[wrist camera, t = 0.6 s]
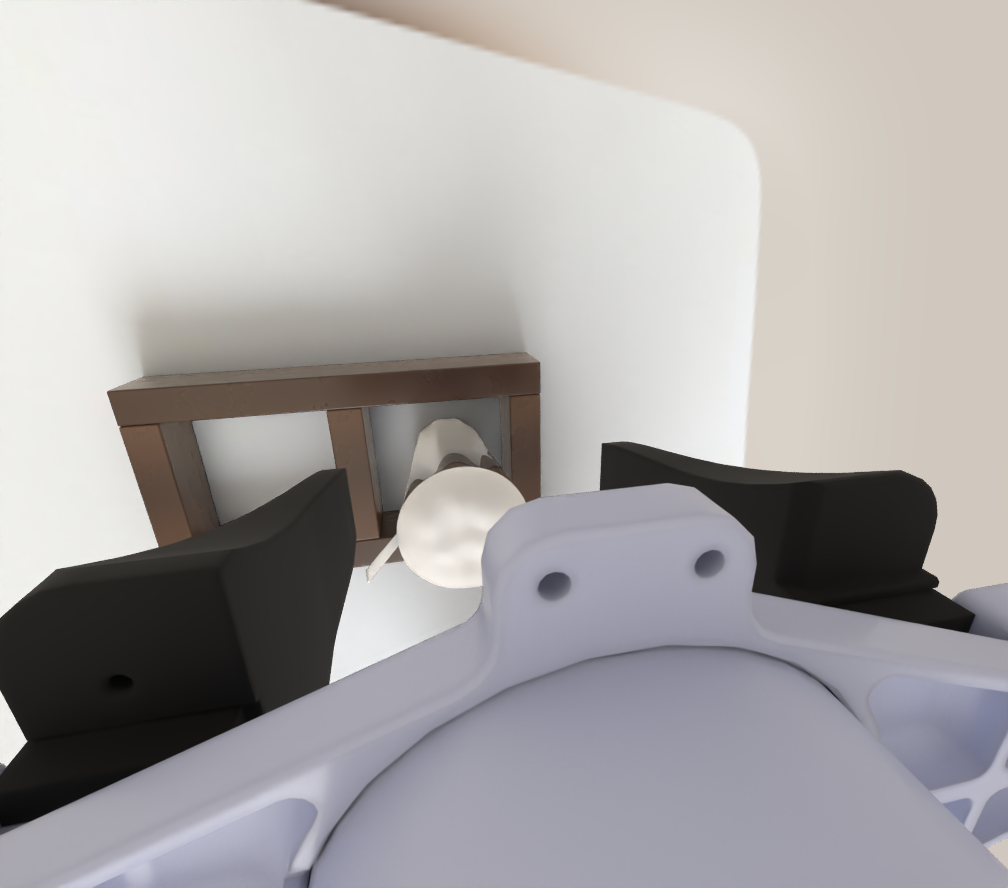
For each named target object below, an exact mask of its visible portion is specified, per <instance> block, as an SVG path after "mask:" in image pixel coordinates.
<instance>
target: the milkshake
mask: <svg viewBox="0 0 1008 888" xmlns="http://www.w3.org/2000/svg"><path fill="white" fill-rule="evenodd" d="M524 503H526V502H525V500H524V498H523V496H522V495H521V493H520V492H519V490H518V489H517V488H516V486H515V485H514V484H513V483H512V481H511V480H510V479H509V478H508V476H507V475H506V474H505V472H504V471H503V470H502V469H501V467H500V466H499V465H498V463H497V462H496V460H495V459H494V457H493V456H492V454H491V453H490V451H489V450H488V448H487V447H486V445H485V444H484V442H483V441H482V439H481V438H480V436H479V435H478V434H477V432H476V431H475V429H474V428H472V427H470V426H469V425H467V424H465V423H464V422H462V421H460V420H459V419H457V418H453V419H438V420H435V421H433V422H432V423H431V424H430V425H428V426H427V427H426V428H425V429H423V430H422V431H421V432H420V433H419V436H418V440H417V444H416V447H415V451H414V456H413V461H412V467H411V472H410V478H409V481H408V484H407V488H406V491H405V495H404V499H403V502H402V506H401V510H400V513H399V517H398V521H397V533H396V535H395V536H394V537H393V538H392V539H391V541H390V542H389V543H388V544H387V545H386V547H385V548H384V549H383V550H382V552H381V553H380V554H379V555H378V556H377V558H376V559H375V560H374V561H373V562H372V564H371V565H370V566H369V567H368V569H367V570H366V576H367V582H368V583H369V582H370V581H371V580H372V579H373V577H374V576H375V575H376V574H377V572H378V571H379V570H380V569H381V567H382V566H383V565H384V563H385V562H386V561H387V560H388V558H389V557H390V556H391V555H392V553H393V552H394V551H395V550H396V548H397V547H398V546H399V549H400V552H401V555H402V557H403V559H404V561H405V562H406V564H407V565H408V567H409V568H410V569H411V570H412V571H413V572H414V573H415V574H417V575H418V576H419V577H421V578H423V579H424V580H426V581H428V582H430V583H432V584H435V585H438V586H441V587H445V588H471V587H479V586H482V570H481V557H482V553H483V549H484V545H485V541H486V537H487V533H488V531H489V530H490V529H491V528H492V527H493V526H494V524H495V523H496V522H497V521H498V520H499V519H500V518H501V517H502V516H503V515H504V514H505V513H506V512H507V511H508V510H509V509H510V508H513V507H515V506H518V505H521V504H524Z"/></svg>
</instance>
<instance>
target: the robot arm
mask: <svg viewBox="0 0 1008 888" xmlns="http://www.w3.org/2000/svg"><path fill="white" fill-rule="evenodd" d="M936 520H937V502H936V498H935V495H934V493H933V491H932V489H931V487H930V486H929V485H928V484H927V483H926V482H925V481H924V480H923V479H920V478H918V477H916V476H913V475H911V474H909V473H906V472H904V471H902V470H893V471H872V472H854V473H798V472H796V473H795V472H781V471H767V470H758V469H749V468H743V467H736V466H730V465H724V464H718V463H713V462H709V461H704V460H700V459H695V458H691V457H687V456H683V455H679V454H676V453H672V452H668V451H665V450H661V449H657V448H653V447H650V446H646V445H642V444H637V443H632V442H612V443H602V453H601V475H600V491H594V492H585V493H576V494H567V495H558V496H550V497H541V498H538V499H535V500H532V501H529V502H527V503H524V504H521V505H518V506H515V507H513V508H510V509H509V510H508V511H507V512H506V513H505V514H504V515H503V516H502V517H501V518H500V519H499V520H498V521H497V522H496V523H495V524H494V526H493V527H492V528H491V529H490V530H489V531H488V533H487V537H486V541H485V545H484V549H483V553H482V557H481V570H482V598H481V603H480V606H479V608H478V610H477V612H476V613H475V614H474V615H473V616H472V617H471V618H470V619H469V620H468V621H467V622H464V623H462V624H460V625H458V626H456V627H453V628H451V629H449V630H447V631H445V632H443V633H440V634H438V635H436V636H434V637H432V638H429V639H427V640H425V641H423V642H421V643H419V644H416V645H414V646H412V647H410V648H408V649H405V650H403V651H401V652H399V653H397V654H395V655H392V656H390V657H388V658H386V659H384V660H382V661H379V662H377V663H375V664H373V665H371V666H368V667H366V668H364V669H362V670H360V671H358V672H355V673H353V674H351V675H349V676H347V677H344V678H342V679H340V680H338V681H336V682H334V683H331V684H329V681H330V674H331V666H332V658H333V650H334V644H335V639H336V634H337V630H338V626H339V622H340V618H341V614H342V610H343V606H344V602H345V598H346V595H347V591H348V587H349V583H350V579H351V575H352V571H353V566H354V559H355V549H356V537H357V534H356V528H355V522H354V515H353V509H352V503H351V497H350V490H349V484H348V478H347V471H346V468H341V469H331V470H322V471H319V472H317V473H315V474H313V475H311V476H310V477H308V478H307V479H305V480H303V481H302V482H300V483H299V484H297V485H296V486H294V487H293V488H291V489H289V490H288V491H286V492H285V493H283V494H282V495H280V496H278V497H277V498H275V499H273V500H271V501H270V502H268V503H266V504H264V505H263V506H261V507H259V508H258V509H256V510H254V511H252V512H250V513H248V514H246V515H244V516H242V517H240V518H238V519H236V520H233V521H231V522H229V523H227V524H225V525H222V526H220V527H217V528H215V529H212V530H209V531H207V532H204V533H201V534H198V535H195V536H193V537H190V538H187V539H184V540H182V541H178V542H175V543H172V544H169V545H165V546H162V547H158V548H155V549H151V550H147V551H143V552H139V553H135V554H131V555H127V556H123V557H119V558H114V559H108V560H103V561H98V562H93V563H88V564H83V565H78V566H73V567H67V568H61V569H56V570H55V571H54V572H53V573H52V574H50V575H49V576H48V577H47V578H46V579H45V580H44V581H42V582H41V583H40V584H39V585H38V586H37V587H35V588H34V589H33V590H32V591H31V592H30V593H28V594H27V595H26V596H25V597H24V598H22V599H21V600H20V601H19V602H18V603H16V604H15V605H14V606H13V607H12V608H11V609H10V610H9V611H8V612H6V613H5V614H4V615H3V616H2V617H1V618H0V691H1V692H2V694H3V696H4V698H5V700H6V702H7V704H8V706H9V708H10V709H11V711H12V713H13V715H14V717H15V719H16V721H17V723H18V725H19V726H20V728H21V730H22V732H23V734H24V736H25V738H26V740H27V741H28V742H27V743H26V744H25V745H24V746H23V748H22V749H21V750H20V751H19V753H18V754H17V755H16V756H15V757H14V759H13V760H12V761H11V762H10V764H9V765H8V766H7V767H6V766H5V765H4V764H2V763H0V888H1008V869H1007V868H1006V867H1005V866H1004V865H1003V864H1002V863H1001V862H1000V861H999V860H998V859H997V858H996V857H995V856H994V855H993V854H992V853H991V852H990V851H989V850H988V849H987V848H988V847H990V846H992V845H994V844H996V843H998V842H1000V841H1002V840H1004V839H1006V838H1008V583H1004V584H998V585H992V586H987V587H981V588H976V589H969V590H965V591H963V592H961V593H959V594H958V595H956V596H955V597H954V598H953V599H952V600H950V599H949V598H947V597H946V596H944V595H942V594H941V593H939V592H937V591H936V590H934V589H933V588H936V587H938V584H939V580H938V578H937V577H936V576H934V575H932V574H930V573H929V572H927V571H925V570H924V569H922V566H923V563H924V560H925V557H926V554H927V551H928V548H929V545H930V542H931V539H932V535H933V533H934V529H935V525H936Z"/></svg>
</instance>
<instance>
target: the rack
mask: <svg viewBox="0 0 1008 888" xmlns="http://www.w3.org/2000/svg"><path fill="white" fill-rule="evenodd" d="M539 393H540V362H539V361H537V360H536V359H535V358H533V357H532V356H530V355H529V354H528V353H511V354H495V355H479V356H464V357H448V358H432V359H416V360H401V361H385V362H369V363H353V364H338V365H322V366H306V367H291V368H275V369H259V370H243V371H228V372H212V373H196V374H180V375H165V376H149V377H142V378H139V379H137V380H134V381H132V382H129V383H127V384H124V385H122V386H119V387H117V388H114V389H112V390H109V391H107V394H108V397H109V400H110V403H111V406H112V409H113V412H114V415H115V418H116V421H117V424H118V426H121V427H120V428H119V429H120V432H121V435H122V438H123V441H124V444H125V447H126V450H127V453H128V456H129V459H130V462H131V465H132V468H133V471H134V474H135V477H136V480H137V483H138V486H139V489H140V492H141V495H142V498H143V501H144V504H145V507H146V510H147V513H148V516H149V519H150V522H151V525H152V528H153V531H154V534H155V537H156V540H157V543H158V546H159V547H162V546H165V545H169V544H172V543H175V542H178V541H182V540H184V539H187V538H190V537H193V536H195V535H198V534H201V533H204V532H207V531H209V530H212V529H215V528H217V527H220V525H219V521H218V518H217V514H216V511H215V507H214V503H213V500H212V496H211V493H210V489H209V485H208V482H207V478H206V474H205V471H204V467H203V464H202V460H201V456H200V453H199V449H198V446H197V442H196V438H195V435H194V431H193V428H192V424H191V421H196V420H209V419H221V418H234V417H247V416H260V415H272V414H285V413H298V412H311V411H323V410H327V417H328V423H329V429H330V435H331V440H332V446H333V452H334V458H335V464H336V469H341V468H346V471H347V478H348V484H349V490H350V497H351V503H352V509H353V515H354V522H355V528H356V534H357V537H356V549H355V559H354V566H353V568H354V567H362V566H370V565H371V564H372V562H373V561H374V560H375V559H376V558H377V556H378V555H379V554H380V553H381V552H382V550H383V549H384V548H385V547H386V545H387V544H388V543H389V542H390V541H391V539H392V538H393V537H394V536H395V535H396V533H397V521H398V517H399V513H400V510H399V511H390V512H383V508H382V501H381V494H380V486H379V479H378V472H377V464H376V457H375V450H374V442H373V435H372V428H371V420H370V413H369V407H374V406H387V405H400V404H413V403H426V402H438V401H451V400H464V399H477V398H489V397H500V417H501V445H502V470H503V471H504V472H505V474H506V475H507V476H508V478H509V479H510V480H511V481H512V483H513V484H514V485H515V486H516V488H517V489H518V490H519V492H520V493H521V495H522V496H523V498H524V500H525V502H526V503H527V502H529V501H532V500H535V499H538V498H541V451H540V394H539ZM400 561H404V559H403V557H402V555H401V552H400V549H399V546H398V547H397V548H396V550H395V551H394V552H393V553H392V555H391V556H390V557H389V558H388V560H387V561H386V562H385V563H392V562H400ZM385 563H384V564H385Z"/></svg>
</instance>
